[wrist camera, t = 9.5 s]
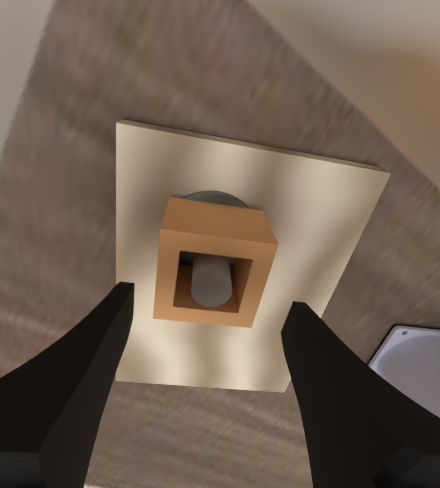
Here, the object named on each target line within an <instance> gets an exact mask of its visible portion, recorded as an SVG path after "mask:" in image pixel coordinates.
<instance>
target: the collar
mask: <svg viewBox="0 0 440 488" xmlns="http://www.w3.org/2000/svg"><path fill="white" fill-rule="evenodd" d="M278 245H279V244H278V242H277V240H276V238H275V235H274V233H273V231H272V229H271V226H270V224H269V222H268V219H267V217H266V215H265V213H264V211H261V210H254V209H247V208H241V207H234V206H227V205H220V204H214V203H207V202H200V201H194V200H187V199H180V198H174V197H169V201H168V204H167V207H166V211H165V214H164V218H163V221H162V224H161V228H160V236H159V248H158V261H157V273H156V285H155V297H154V309H153V319H162V320H172V321H183V322H193V323H204V324H214V325H225V326H236V327H246V328H252V325H253V322H254V319H255V316H256V313H257V310H258V307H259V304H260V301H261V298H262V295H263V292H264V288H265V285H266V282H267V279H268V276H269V273H270V270H271V267H272V264H273V261H274V258H275V255H276V252H277V249H278ZM180 251H189V252H197V253H205V254H213V255H221V256H229V257H236V258H235V262H234V266H233V270H232V271H230V276H231V284H232V295H231V297H230V299H229V300H228V301H227V302H225V303H224V304H222V305H220V306H215V307H207V306H203V305H201V304H199V303H197V302H196V301H195V300H194V298H193V296H192V293H191V289H192V274H193V266H186V265H179V259H180Z"/></svg>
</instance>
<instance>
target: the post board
mask: <svg viewBox="0 0 440 488" xmlns="http://www.w3.org/2000/svg"><path fill="white" fill-rule="evenodd" d="M390 175H391V173H390V172H388V171H386V170H384V169H382V168H380V167H378V166H373V165H367V164H362V163H356V162H351V161H346V160H340V159H335V158H329V157H324V156H319V155H313V154H308V153H302V152H297V151H292V150H286V149H281V148H275V147H270V146H265V145H259V144H254V143H248V142H243V141H238V140H232V139H227V138H222V137H216V136H211V135H205V134H200V133H195V132H189V131H184V130H178V129H173V128H168V127H162V126H157V125H151V124H146V123H141V122H135V121H130V120H124V119H123V120H121V121H119V122H117V123H116V285H117V283H119V282H120V281H121V282H130V283H135V290H134V313H133V321H132V325H131V329H130V333H129V337H128V341H127V343H126V346H125V349H124V352H123V354H122V357H121V360H120V362H119V365H118V368H117V370H116V381H124V382H139V383H153V384H168V385H183V386H197V387H212V388H226V389H241V390H255V391H270V392H285V390H286V388H287V386H288V384H289V382H290V380H291V376H290V373H289V370H288V366H287V363H286V359H285V356H284V351H283V345H282V339H281V330H282V327H283V325H284V323H285V320H286V318H287V315H288V313H289V310H290V308H291V305H292V303H293V301H296V302H305V303H307V304H308V305H309V306H310V308H311V309H312V310H313V311H314V312H315V313H316V314H317V315H318V316H319V317H320V318H321V316H322V314H323V312H324V310H325V308H326V306H327V304H328V302H329V300H330V298H331V296H332V294H333V292H334V290H335V288H336V286H337V284H338V282H339V279H340V277H341V275H342V273H343V271H344V269H345V267H346V265H347V263H348V261H349V259H350V257H351V255H352V253H353V251H354V249H355V247H356V245H357V243H358V241H359V239H360V236H361V234H362V232H363V230H364V228H365V226H366V224H367V222H368V220H369V218H370V216H371V214H372V212H373V210H374V208H375V206H376V204H377V202H378V200H379V198H380V196H381V193H382V191H383V189H384V187H385V185H386V183H387V181H388V179H389V177H390ZM169 197H174V198H180V199H187V200H194V201H200V202H207V203H214V204H220V205H227V206H234V207H241V208H247V209H254V210H261V211H264V213H265V215H266V217H267V219H268V222H269V224H270V226H271V229H272V231H273V233H274V235H275V238H276V240H277V242H278V244H279V245H278V249H277V252H276V255H275V258H274V261H273V264H272V267H271V270H270V273H269V276H268V279H267V282H266V285H265V288H264V292H263V295H262V298H261V301H260V304H259V307H258V310H257V313H256V316H255V319H254V322H253V325H252V328H246V327H236V326H225V325H214V324H204V323H193V322H183V321H172V320H162V319H153V309H154V297H155V285H156V273H157V261H158V248H159V236H160V228H161V224H162V221H163V218H164V214H165V211H166V207H167V204H168V201H169ZM235 258H236V257H229V256H221V255H213V254H205V253H197V252H189V251H180V259H179V265H186V266H193V274H192V289H191V293H192V296H193V298H194V300H195V301H196V302H197V303H199V304H201V305H203V306H207V307H215V306H220V305H222V304H224V303H225V302H227V301H228V300H229V299H230V297H231V295H232V284H231V276H230V271H232V270H233V266H234V262H235Z"/></svg>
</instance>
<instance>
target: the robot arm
mask: <svg viewBox="0 0 440 488" xmlns="http://www.w3.org/2000/svg"><path fill="white" fill-rule="evenodd" d="M134 290H135V283H130V282H121V281H120V282H119V283H117V285H116V286H115V287H114V288H113V289H112V290H111V292H110V293H109V294H108V295H107V296H106V297H105V298H104V299H103V300H102V301H101V302H100V303H99V304H98V305H97V306H96V307H95V308H94V309H93V310H92V311H91V312H90V313H89V314H88V315H87V316H86V317H85V318H84V319H83V320H81V321H80V322H79V323H78V324H77V325H76V326H75V327H74V328H72V329H71V330H70V331H69V332H68V333H66V334H65V335H64V336H63V337H61V338H60V339H59V340H57V341H56V342H55V343H53V344H52V345H51V346H49V347H48V348H47V349H45V350H44V351H42V352H41V353H39V354H38V355H37V356H35V357H34V358H32V359H31V360H29V361H28V362H26V363H25V364H23V365H21V366H20V367H18V368H16V369H15V370H13V371H11V372H10V373H8V374H6V375H5V376H3V377H1V378H0V488H83V487H84V482H85V478H86V474H87V470H88V466H89V463H90V459H91V455H92V451H93V447H94V443H95V439H96V435H97V431H98V428H99V424H100V420H101V416H102V413H103V409H104V405H105V402H106V398H107V395H108V392H109V389H110V386H111V384H112V381H113V378H114V376H115V373H116V370H117V368H118V365H119V362H120V360H121V357H122V354H123V352H124V349H125V346H126V343H127V341H128V337H129V333H130V329H131V325H132V321H133V313H134ZM281 339H282V345H283V351H284V356H285V359H286V363H287V366H288V370H289V373H290V376H291V380H292V383H293V386H294V390H295V393H296V396H297V400H298V403H299V407H300V411H301V416H302V421H303V427H304V432H305V437H306V443H307V449H308V455H309V461H310V468H311V475H312V482H313V488H440V330H435V329H426V328H417V327H407V326H396V327H394V328H393V329H392V330H391V332H390V333H389V335H388V336H387V338H386V339H385V341H384V342H383V344H382V345H381V347H380V348H379V350H378V351H377V353H376V354H375V356H374V357H373V359H372V360H371V361H370V363H369V364H368V365H367V364H365V363H364V362H363V361H362V360H361V359H360V358H359V357H358V356H357V355H356V354H355V353H354V352H352V351H351V350H350V349H349V348H348V347H347V346H346V345H345V344H344V343H343V342H342V341H341V340H340V339H339V338H338V337H337V336H336V335H335V333H334V332H333V331H332V330H331V329H330V328H329V327H328V326H327V325H326V324H325V323H324V322H323V321H322V319H321V318H320V317H319V316H318V315H317V314H316V313H315V312H314V311H313V310H312V309H311V308H310V306H309V305H308V304H307V303H305V302H296V301H293V303H292V305H291V308H290V310H289V313H288V315H287V318H286V320H285V323H284V325H283V327H282V330H281Z"/></svg>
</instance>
